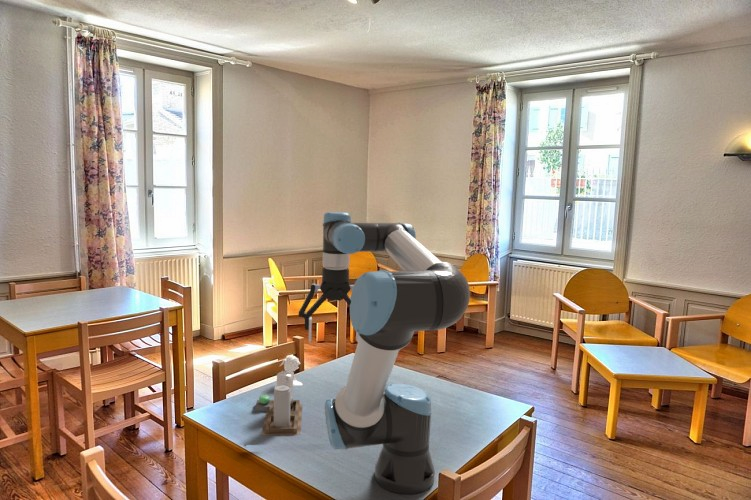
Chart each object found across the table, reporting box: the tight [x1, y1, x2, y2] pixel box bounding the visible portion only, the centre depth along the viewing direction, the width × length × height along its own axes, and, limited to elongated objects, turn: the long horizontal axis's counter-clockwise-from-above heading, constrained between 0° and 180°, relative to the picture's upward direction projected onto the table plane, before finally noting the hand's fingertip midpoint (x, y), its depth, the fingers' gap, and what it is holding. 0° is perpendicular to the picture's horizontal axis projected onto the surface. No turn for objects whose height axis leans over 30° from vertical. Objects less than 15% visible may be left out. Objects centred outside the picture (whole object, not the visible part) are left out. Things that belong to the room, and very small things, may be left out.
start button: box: [258, 394, 271, 404], centre depth 161 cm, size 3×3×2 cm
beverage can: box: [273, 384, 291, 427], centre depth 149 cm, size 5×5×12 cm
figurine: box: [279, 355, 303, 386], centre depth 180 cm, size 9×9×12 cm
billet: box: [276, 370, 294, 411], centre depth 159 cm, size 5×5×12 cm
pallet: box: [254, 399, 303, 436], centre depth 155 cm, size 20×14×3 cm
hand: (333, 340), depth 145 cm, fingers open, 13 cm apart
